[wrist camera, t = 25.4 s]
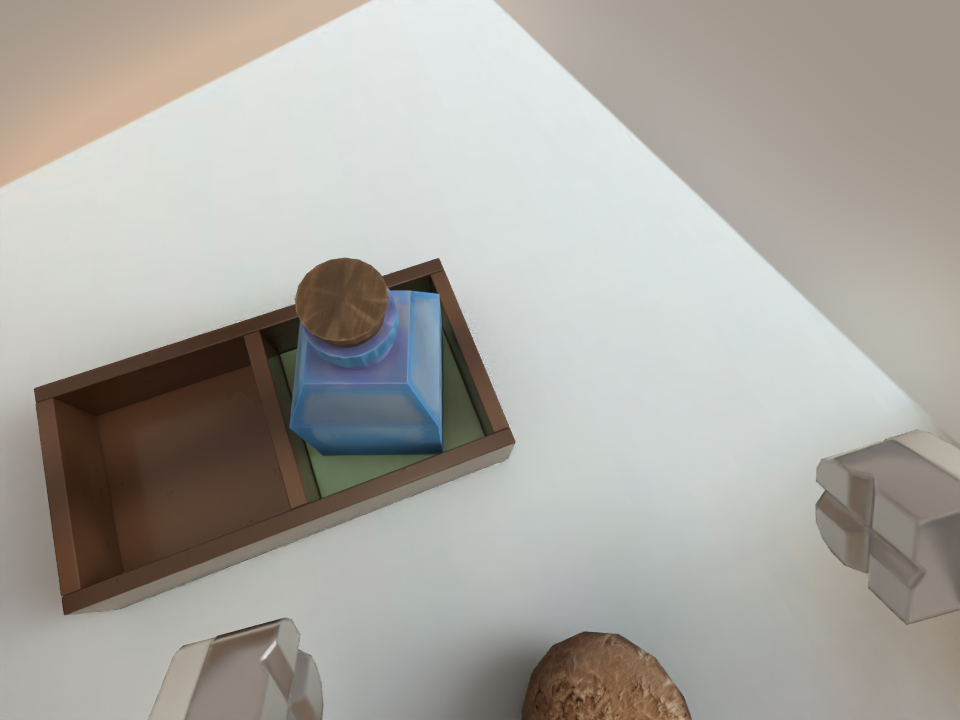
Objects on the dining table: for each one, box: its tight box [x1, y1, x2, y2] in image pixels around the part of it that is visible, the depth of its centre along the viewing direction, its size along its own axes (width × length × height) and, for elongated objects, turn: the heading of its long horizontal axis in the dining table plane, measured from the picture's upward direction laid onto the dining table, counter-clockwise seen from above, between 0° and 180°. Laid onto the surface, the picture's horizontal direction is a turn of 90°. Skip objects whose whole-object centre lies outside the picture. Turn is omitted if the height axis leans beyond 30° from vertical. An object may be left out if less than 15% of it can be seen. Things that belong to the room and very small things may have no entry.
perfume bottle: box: [289, 258, 443, 456], centre depth 25 cm, size 6×6×12 cm
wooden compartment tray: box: [34, 258, 515, 615], centre depth 29 cm, size 11×20×4 cm, turn 111°
